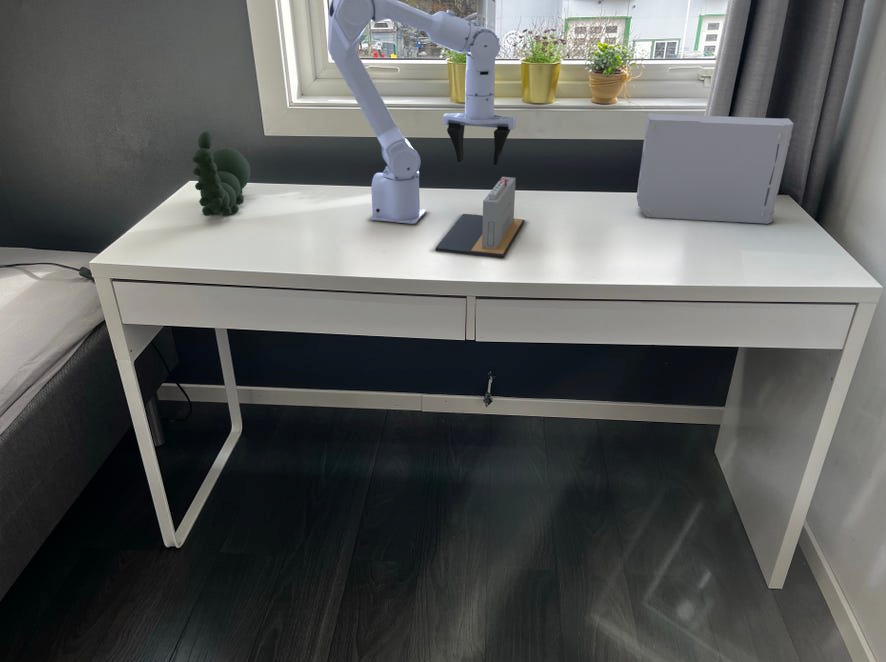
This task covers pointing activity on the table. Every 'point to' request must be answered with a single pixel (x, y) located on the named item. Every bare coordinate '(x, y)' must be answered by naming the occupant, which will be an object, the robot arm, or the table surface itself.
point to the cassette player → (498, 212)
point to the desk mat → (476, 237)
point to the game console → (712, 167)
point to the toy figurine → (220, 177)
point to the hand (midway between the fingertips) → (478, 162)
